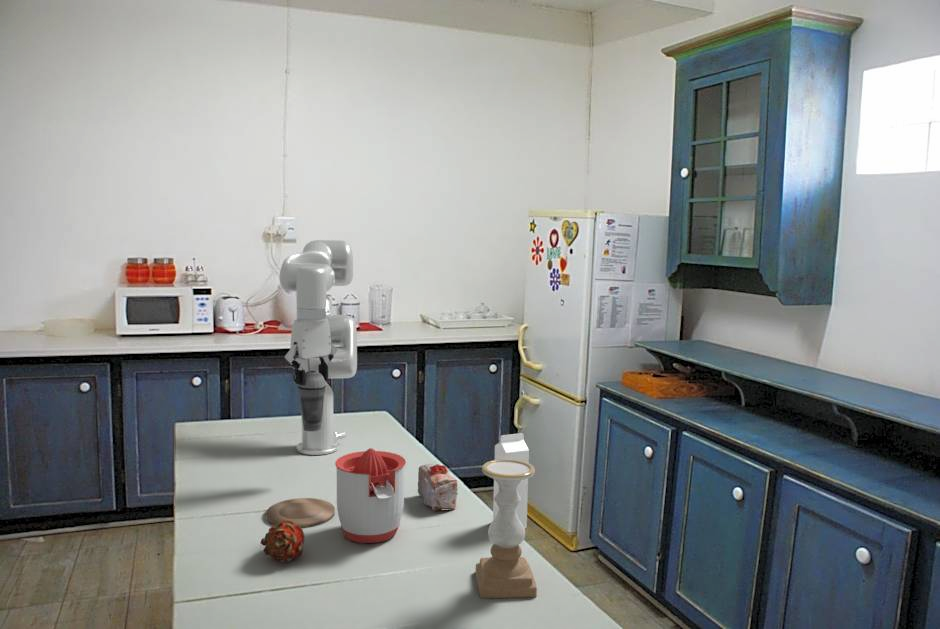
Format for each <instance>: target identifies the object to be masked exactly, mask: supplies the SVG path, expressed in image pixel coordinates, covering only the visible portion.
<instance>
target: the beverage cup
mask: <svg viewBox="0 0 940 629" xmlns="http://www.w3.org/2000/svg"><path fill="white" fill-rule="evenodd" d="M307 362H308V370H309V371H308V372H306V373H305V385H299V384H297V388H298V394H299V396H300V397H299V399H300V407H301V408H300V410H301V422H302V421H303V427H304V430H305V431H318V430H320V429H321V423H322V413H323V401H324V394H325V387H326V384H325V380H324V377H323V376H322V375H321V374H320V373H319V372H317V371H310V362H309V359H307Z"/></svg>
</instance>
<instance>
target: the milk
mask: <svg viewBox="0 0 940 629" xmlns="http://www.w3.org/2000/svg"><path fill="white" fill-rule="evenodd" d="M524 436H525V435H524V433H522V432H520V433H513V434H503V435H500V438H499V439H500V441H499V442H498V443H496V444H495V445H494V460H498V459H514V460H520V461H524V462H527V463H529V464H530V462H529V460H530V450H529V447H528V446H527V443H526V442H525V440H524V439H525V438H524ZM528 487H529V478H528V479H524V480H521V482H520V483H519V484H518V486H517V493H518V495H519V496H520V498H521V502H520V503H518V506H517V508H516V514H517V516H518V518H519V520H520V521H521V523H522V525H523V527H524V529H527V526H528V525H527V524H528V499H529V498H528V495H529V494H528V492H529V491H528V489H529V488H528ZM498 491H499V485H498V483H497V482H496V480H495V479H494V478H493V505H492V507H493V508H492V510H493V511H492V521H493V520H494V519H495V517H496V515H497V514H498V511H499V508H498V505H497V502H495V500H494V497H495V496H496V495H497V493H498Z"/></svg>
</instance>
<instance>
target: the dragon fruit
mask: <svg viewBox="0 0 940 629" xmlns="http://www.w3.org/2000/svg"><path fill="white" fill-rule="evenodd" d="M304 542H305V533H304V530H303V528H301V527H300V526H296V525H295V524H294V523H293V522H292V521H290V520H283V521H282V523H279V524H274V525H273V524H272V526H271V527H270V528H268V532H266V533H265V536H264V537H263V538H261V539H260V545H262V546H263V547H264V548H263V552H264V555H265V556H269V557H271V558H272V559H274V560H277V561H278V562H279V563H280V562H281V563H288V562H290V561H291V560H293V558H297V557H298V556H299V557H300V556H301V555H302V554H303V551H304V547H303V545H304Z"/></svg>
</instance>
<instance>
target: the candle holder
mask: <svg viewBox="0 0 940 629" xmlns="http://www.w3.org/2000/svg"><path fill="white" fill-rule="evenodd" d="M481 470H482V473H483V474H484V475H485V476H487V477H488V478H491V479H493V480H494V479H495V480H496V482H497V483H498V485H499V491H498V493H497V495H496V496H495V497H494V496H493V499H494V500H495V502H497V505H498V508H499V511H498V514H497V515H496V517H495V519H494V520H493V519H492V522H491V523H490V525H489V526H488V530H487V536H488V538H489V541H491V543H492V546H490V554H491V557H481V558H480V559H479V563H478V562H477V563H476V564H475V571H474V572H475V579H476V584H477V591H478V594H479V598H481V599H515V598H516V599H519V598H521V599H526V598H536V597H537V594H538V593H537V592H538V590H537V589H538V587H537V584H536V580H535V578H534V575H533V572H532V568H531V567H530V563H528V561H527V559H526V557H525V556H524V557H523V556H522V553H523V550H522V548H521V546H520V544H522V543H523V542H524V540H525V538H526V530H525V529H526V528H524V527H523V525H522V523H521V521H520V520H519V518H518V516H517V514H516V508H517V506H518V503H520V502H521V498H520V496H519V495H518V493H517V486H518V484H519V483H520V482H521V480H524V479H528V480H529V478H532V477H533V476H534V474H535V472H536V470H535V467H534V466H533V464H531V463H530V462H529V463H527V462H524V461H520V460H514V459H498V460H495V459H493V460H490V461H487V462H484V464H483V465H482V467H481Z"/></svg>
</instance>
